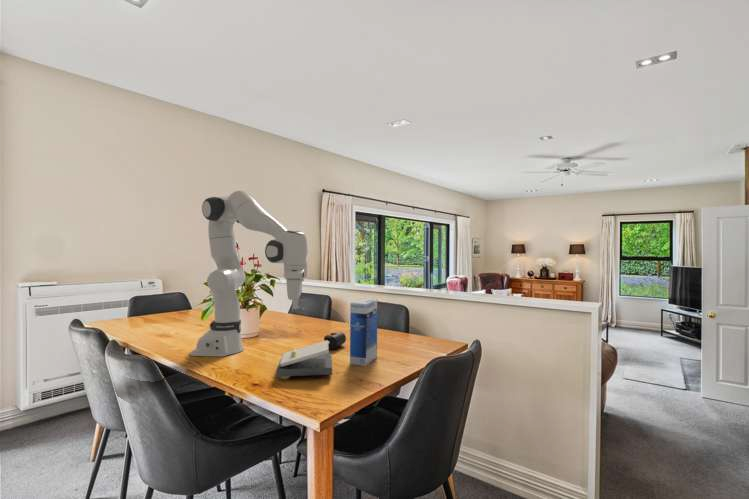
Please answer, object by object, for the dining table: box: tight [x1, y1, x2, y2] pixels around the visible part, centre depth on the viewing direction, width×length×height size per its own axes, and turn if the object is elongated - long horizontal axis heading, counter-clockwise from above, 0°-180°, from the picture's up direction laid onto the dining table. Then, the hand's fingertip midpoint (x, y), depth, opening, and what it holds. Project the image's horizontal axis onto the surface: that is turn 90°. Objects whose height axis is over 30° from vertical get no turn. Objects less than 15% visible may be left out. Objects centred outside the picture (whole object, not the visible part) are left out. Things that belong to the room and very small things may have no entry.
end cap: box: [323, 331, 347, 351], centre depth 178 cm, size 10×7×7 cm
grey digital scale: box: [275, 352, 333, 382], centre depth 143 cm, size 20×18×4 cm
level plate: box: [277, 340, 330, 367], centre depth 143 cm, size 19×14×3 cm
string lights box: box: [349, 298, 378, 367], centre depth 158 cm, size 13×8×26 cm, turn 157°
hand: (295, 308), depth 142 cm, fingers closed
